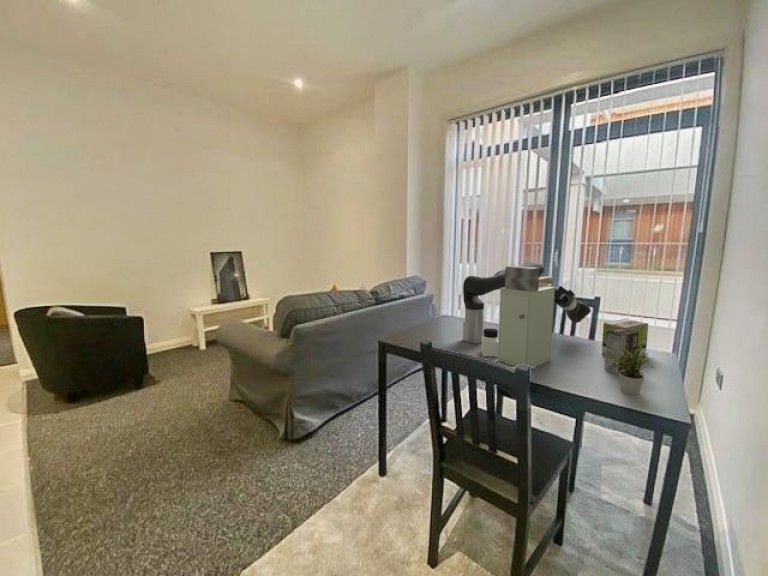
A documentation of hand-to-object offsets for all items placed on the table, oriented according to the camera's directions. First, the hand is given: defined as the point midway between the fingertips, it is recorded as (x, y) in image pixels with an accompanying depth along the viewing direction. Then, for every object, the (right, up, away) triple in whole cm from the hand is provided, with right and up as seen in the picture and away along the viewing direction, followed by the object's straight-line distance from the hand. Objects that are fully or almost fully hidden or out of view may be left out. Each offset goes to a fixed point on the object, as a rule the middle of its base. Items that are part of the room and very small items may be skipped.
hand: (550, 286), depth 155 cm
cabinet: (-14, -32, -5) cm, 35 cm away
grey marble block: (-10, 0, -8) cm, 13 cm away
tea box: (+32, -30, -1) cm, 44 cm away
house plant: (+12, -36, -33) cm, 51 cm away
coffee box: (+19, -33, -17) cm, 42 cm away
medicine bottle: (-26, -31, +3) cm, 41 cm away
